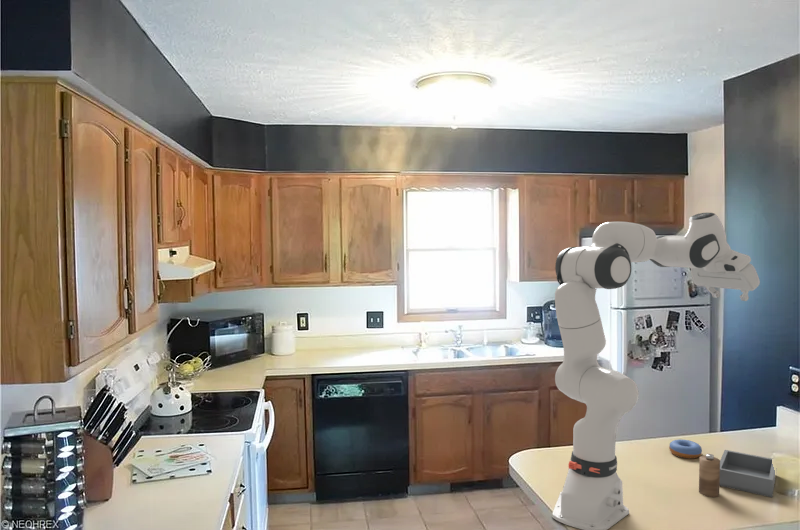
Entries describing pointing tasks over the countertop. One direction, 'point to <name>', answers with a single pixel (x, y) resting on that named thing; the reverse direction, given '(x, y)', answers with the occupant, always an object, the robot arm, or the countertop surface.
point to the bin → (747, 473)
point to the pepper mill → (709, 475)
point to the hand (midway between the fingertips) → (730, 298)
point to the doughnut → (685, 448)
